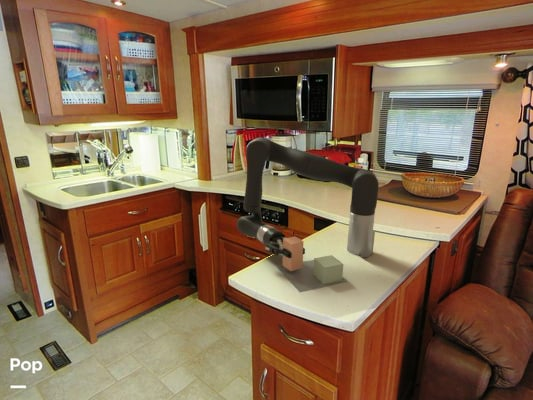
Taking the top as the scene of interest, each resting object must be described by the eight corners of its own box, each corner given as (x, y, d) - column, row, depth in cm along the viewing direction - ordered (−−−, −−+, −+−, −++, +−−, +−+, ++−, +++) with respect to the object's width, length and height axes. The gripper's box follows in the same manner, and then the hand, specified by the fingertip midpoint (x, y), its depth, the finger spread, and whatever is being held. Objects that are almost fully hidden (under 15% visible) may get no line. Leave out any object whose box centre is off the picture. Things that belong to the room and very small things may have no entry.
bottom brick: (330, 270, 120) (331, 255, 118) (342, 280, 114) (343, 263, 112) (313, 274, 118) (314, 258, 116) (323, 284, 111) (324, 267, 110)
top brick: (294, 262, 123) (294, 236, 120) (302, 267, 119) (303, 241, 116) (282, 265, 121) (283, 239, 118) (290, 271, 117) (291, 244, 114)
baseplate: (320, 261, 129) (320, 258, 129) (348, 284, 113) (348, 281, 113) (276, 269, 123) (276, 266, 123) (299, 294, 107) (299, 292, 107)
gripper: (254, 231, 125) (280, 248, 111) (286, 224, 133) (314, 239, 119) (254, 250, 128) (279, 269, 114) (286, 242, 135) (313, 258, 121)
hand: (297, 253), depth 116 cm, fingers closed on top brick, 5 cm apart
